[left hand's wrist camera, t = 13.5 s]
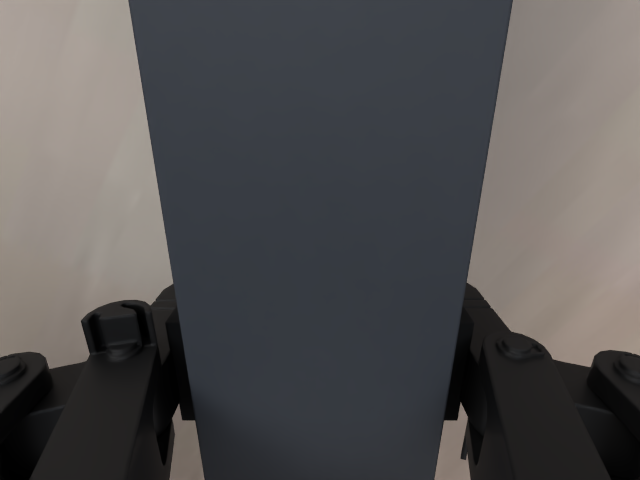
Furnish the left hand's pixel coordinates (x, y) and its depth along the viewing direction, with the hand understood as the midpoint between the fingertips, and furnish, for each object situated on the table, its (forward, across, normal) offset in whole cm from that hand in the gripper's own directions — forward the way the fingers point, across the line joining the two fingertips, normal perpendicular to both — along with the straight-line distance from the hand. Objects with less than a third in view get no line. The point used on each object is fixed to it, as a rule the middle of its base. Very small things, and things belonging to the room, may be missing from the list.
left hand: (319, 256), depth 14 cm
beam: (+1, 0, -20) cm, 20 cm away
